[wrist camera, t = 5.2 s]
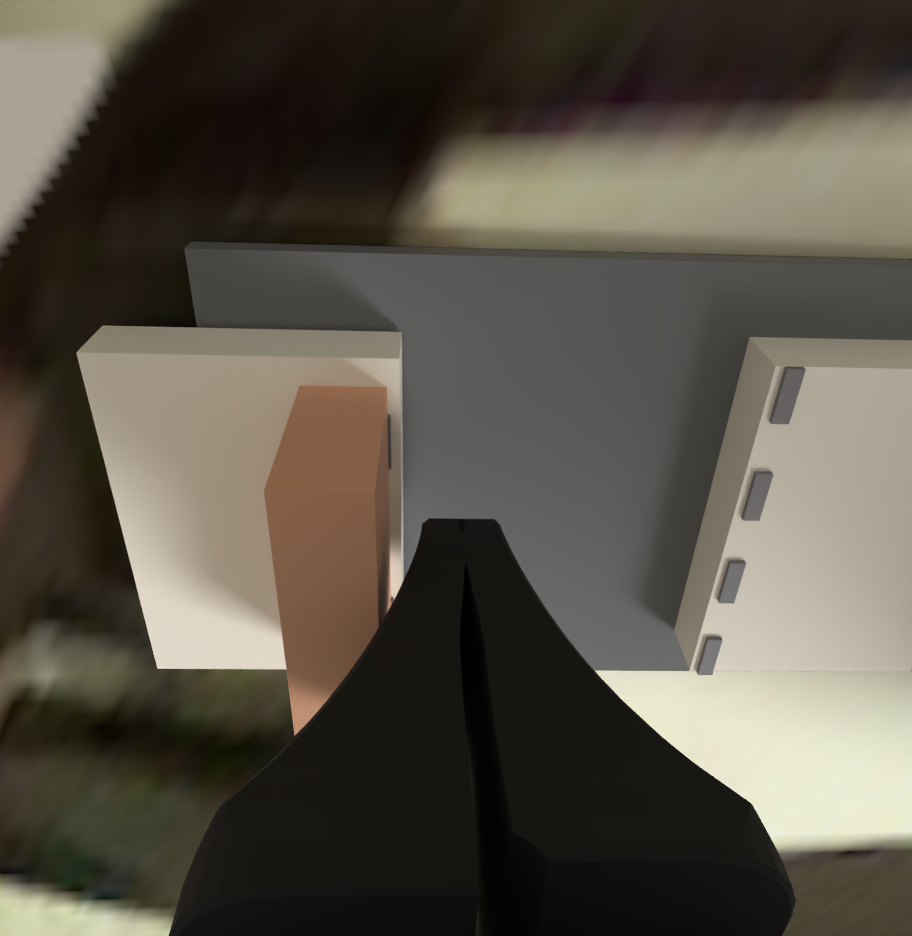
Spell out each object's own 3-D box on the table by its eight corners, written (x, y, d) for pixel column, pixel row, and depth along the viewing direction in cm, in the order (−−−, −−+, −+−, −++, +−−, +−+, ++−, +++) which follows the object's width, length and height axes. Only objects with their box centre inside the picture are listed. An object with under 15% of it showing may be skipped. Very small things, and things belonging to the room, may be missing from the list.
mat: (1242, 267, 13) (1264, 275, 13) (1007, 659, 18) (1018, 672, 18) (190, 241, 12) (184, 248, 12) (255, 655, 18) (251, 668, 17)
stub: (401, 331, 13) (389, 459, 9) (404, 631, 17) (395, 801, 13) (102, 325, 13) (-23, 454, 9) (173, 630, 16) (102, 802, 13)
